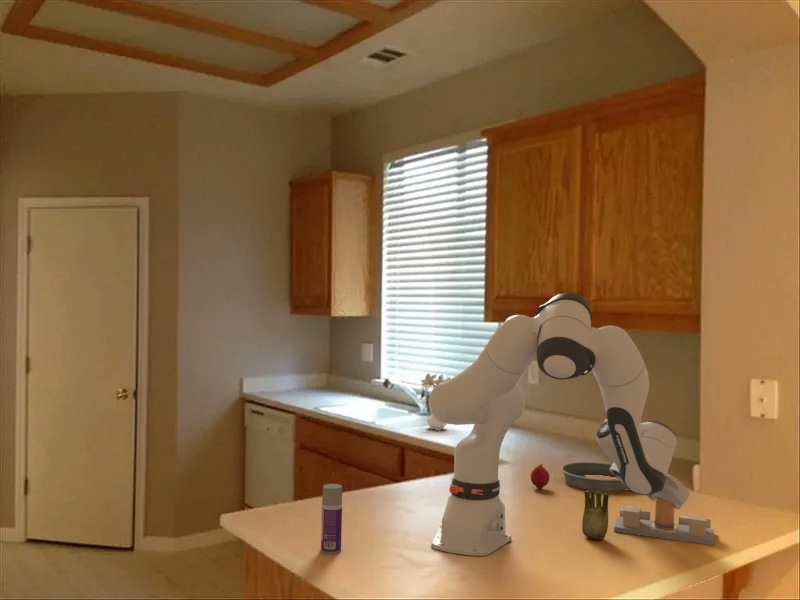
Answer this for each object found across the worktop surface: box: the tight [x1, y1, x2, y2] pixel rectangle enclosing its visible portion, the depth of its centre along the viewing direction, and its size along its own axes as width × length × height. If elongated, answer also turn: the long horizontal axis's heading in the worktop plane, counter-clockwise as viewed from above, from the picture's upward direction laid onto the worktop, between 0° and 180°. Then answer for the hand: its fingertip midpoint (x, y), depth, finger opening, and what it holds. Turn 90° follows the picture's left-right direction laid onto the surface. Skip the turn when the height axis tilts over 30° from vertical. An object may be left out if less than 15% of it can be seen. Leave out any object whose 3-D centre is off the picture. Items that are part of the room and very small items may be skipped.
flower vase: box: [421, 373, 451, 431], centre depth 332 cm, size 13×18×25 cm
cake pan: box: [560, 461, 629, 492], centre depth 239 cm, size 25×25×4 cm
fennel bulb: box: [581, 490, 610, 541], centre depth 182 cm, size 6×5×12 cm
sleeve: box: [654, 497, 675, 530], centre depth 188 cm, size 5×5×9 cm
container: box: [320, 483, 343, 555], centre depth 169 cm, size 5×5×15 cm
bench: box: [613, 504, 716, 546], centre depth 188 cm, size 10×24×5 cm, turn 68°
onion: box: [530, 463, 551, 490], centre depth 229 cm, size 6×6×8 cm
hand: (666, 502), depth 189 cm, fingers open, 7 cm apart
